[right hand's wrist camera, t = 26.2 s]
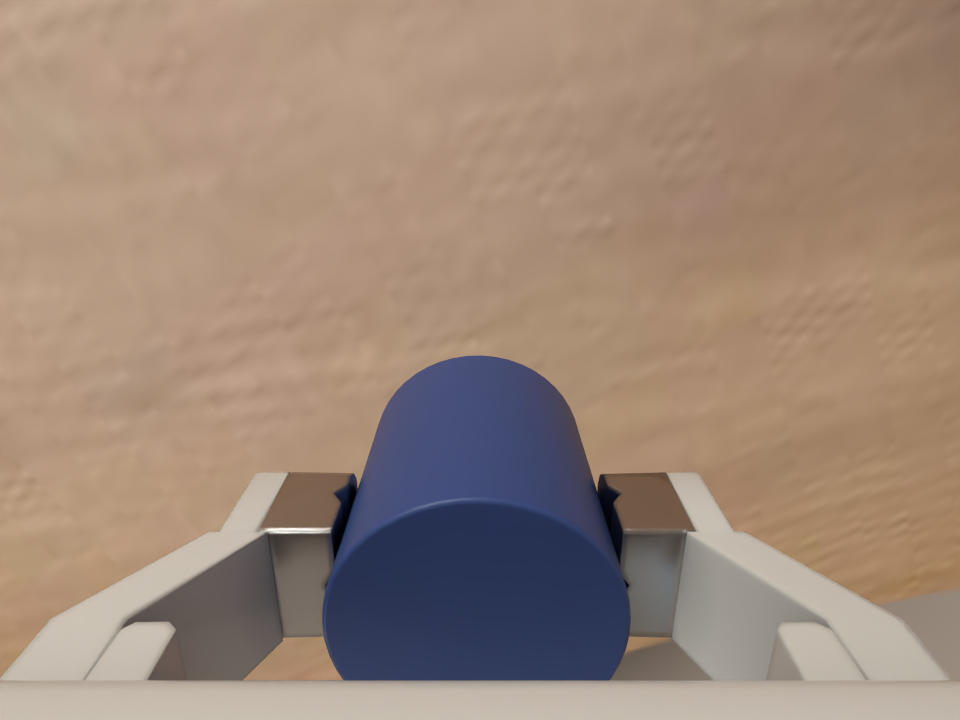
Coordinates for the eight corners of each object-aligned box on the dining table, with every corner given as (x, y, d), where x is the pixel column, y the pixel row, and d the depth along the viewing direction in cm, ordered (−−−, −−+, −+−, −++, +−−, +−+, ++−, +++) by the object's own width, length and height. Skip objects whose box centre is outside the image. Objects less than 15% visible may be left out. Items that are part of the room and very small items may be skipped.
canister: (582, 524, 13) (633, 732, 9) (392, 539, 13) (349, 751, 9) (574, 344, 11) (630, 485, 7) (361, 363, 12) (291, 514, 7)
